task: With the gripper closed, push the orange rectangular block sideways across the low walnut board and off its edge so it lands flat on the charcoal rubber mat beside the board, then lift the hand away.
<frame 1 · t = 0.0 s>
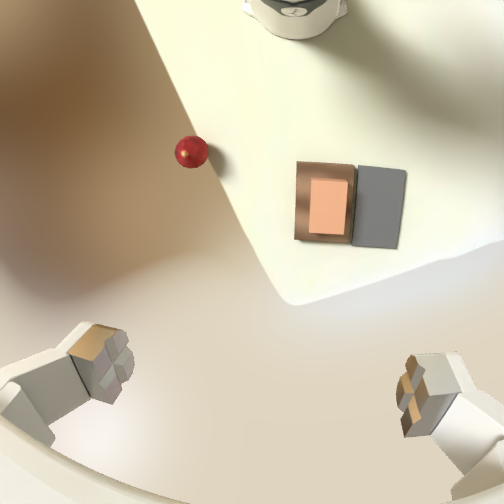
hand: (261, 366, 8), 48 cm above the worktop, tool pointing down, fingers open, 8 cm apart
onion: (198, 150, 53), on the worktop
board: (323, 200, 53), on the worktop
orange rectangular block: (326, 203, 51), point 2 cm above the worktop, touching board
mat: (378, 207, 52), on the worktop
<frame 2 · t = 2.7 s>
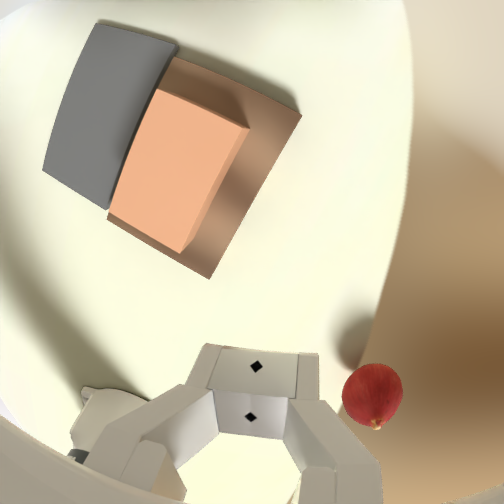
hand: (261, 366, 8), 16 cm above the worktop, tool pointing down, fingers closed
onion: (367, 366, 28), on the worktop
board: (198, 166, 22), on the worktop
orange rectangular block: (183, 166, 20), point 2 cm above the worktop, touching board
mat: (100, 111, 21), on the worktop
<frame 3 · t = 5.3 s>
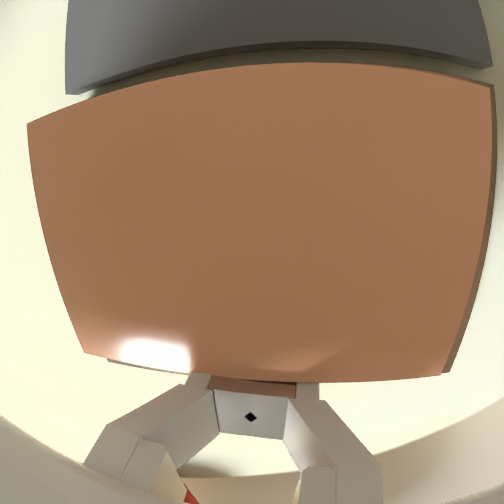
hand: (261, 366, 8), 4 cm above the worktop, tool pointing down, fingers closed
onion: (180, 480, 21), on the worktop
board: (269, 230, 10), on the worktop
orange rectangular block: (258, 207, 8), point 2 cm above the worktop, touching gripper
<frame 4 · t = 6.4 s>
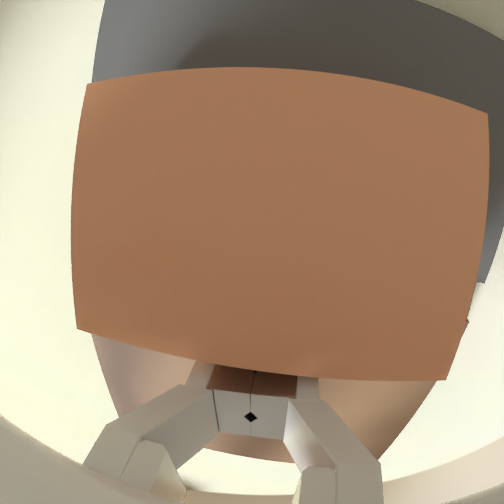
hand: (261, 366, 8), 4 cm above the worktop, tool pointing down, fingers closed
board: (260, 368, 13), on the worktop
orange rectangular block: (278, 216, 8), point 1 cm above the worktop, tilted 13°, touching gripper
mat: (311, 109, 8), on the worktop
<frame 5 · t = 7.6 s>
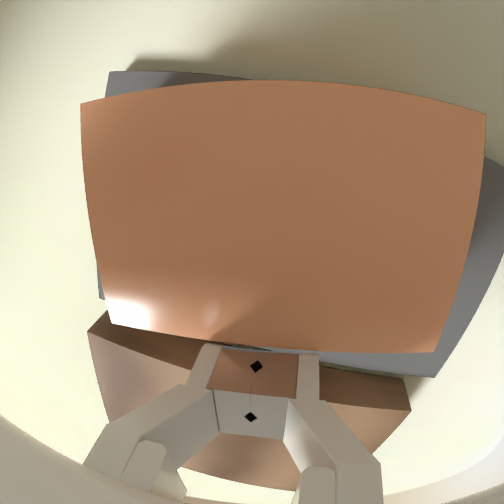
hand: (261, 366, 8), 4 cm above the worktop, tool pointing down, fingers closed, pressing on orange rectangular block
board: (238, 415, 14), on the worktop
orange rectangular block: (281, 198, 9), point 1 cm above the worktop, touching gripper, mat
mat: (304, 234, 10), on the worktop
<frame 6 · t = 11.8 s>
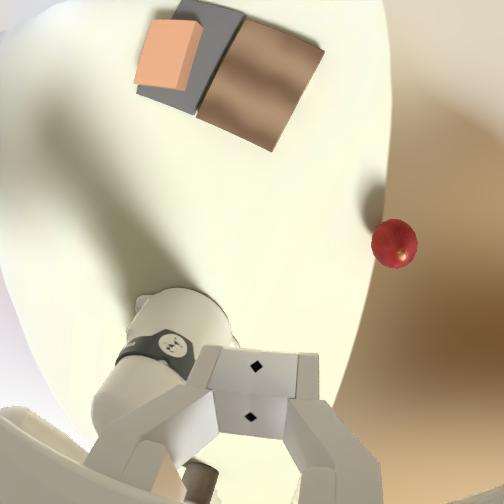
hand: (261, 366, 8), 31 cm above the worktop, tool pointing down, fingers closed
onion: (386, 233, 37), on the worktop
pillar candle: (202, 469, 70), on the worktop
board: (261, 84, 32), on the worktop
orange rectangular block: (173, 56, 31), point 1 cm above the worktop, touching mat
mat: (188, 53, 31), on the worktop
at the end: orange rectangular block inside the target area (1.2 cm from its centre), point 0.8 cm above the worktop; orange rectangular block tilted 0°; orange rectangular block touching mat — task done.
